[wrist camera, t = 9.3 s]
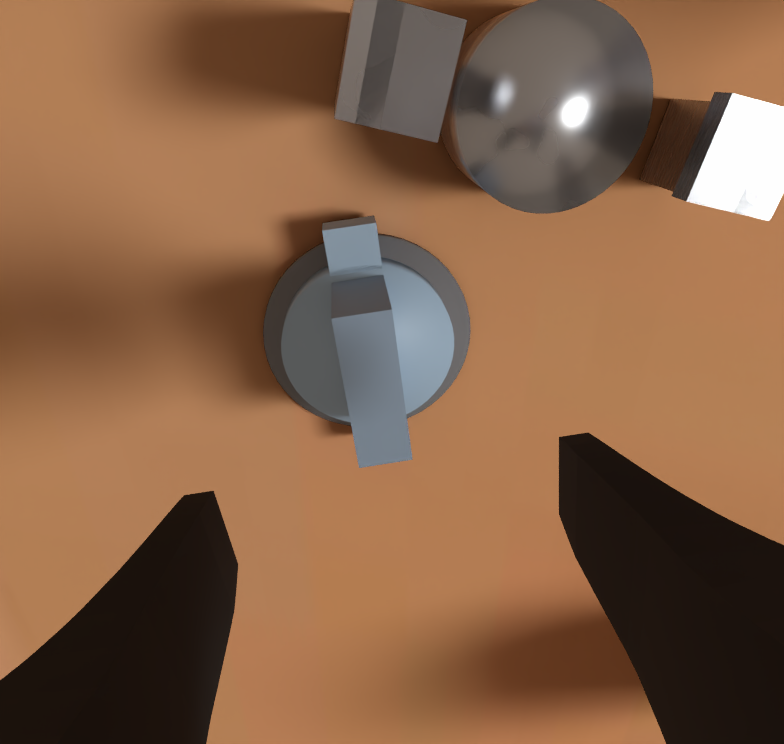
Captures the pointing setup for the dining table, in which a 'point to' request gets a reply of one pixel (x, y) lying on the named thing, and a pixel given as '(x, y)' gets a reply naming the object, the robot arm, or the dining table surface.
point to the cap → (367, 341)
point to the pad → (388, 249)
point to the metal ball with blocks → (552, 106)
